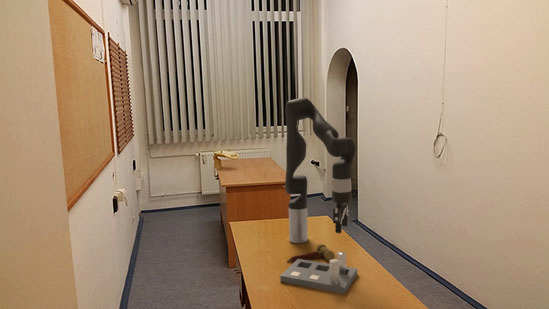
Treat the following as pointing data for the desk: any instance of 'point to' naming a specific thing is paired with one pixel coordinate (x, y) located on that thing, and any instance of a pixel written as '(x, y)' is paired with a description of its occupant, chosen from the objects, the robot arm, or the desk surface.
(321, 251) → the gavel
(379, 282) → the desk surface
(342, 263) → the steel pin
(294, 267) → the pin board
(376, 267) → the desk surface
